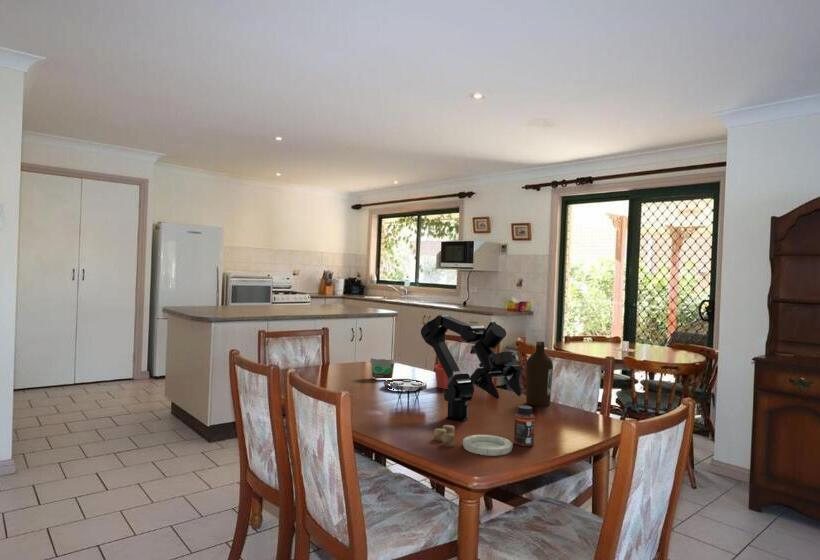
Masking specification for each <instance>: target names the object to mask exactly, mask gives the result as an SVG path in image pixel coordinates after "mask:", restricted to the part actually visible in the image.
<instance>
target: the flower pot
mask: <svg viewBox="0 0 820 560" xmlns="http://www.w3.org/2000/svg"><path fill="white" fill-rule="evenodd" d="M434 368H435V377H436V383H437V388H438V387H439V388H438V389H440V388H443V389H442V390H444V389H448V386H447V385H448V377H447V375H446V373H445V371H444V369H443V367H442V365H441V364H435V366H434ZM458 368H459V370H460V369H461V368H460V366H458Z"/></svg>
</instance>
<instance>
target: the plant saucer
mask: <svg viewBox="0 0 820 560" xmlns="http://www.w3.org/2000/svg"><path fill="white" fill-rule="evenodd" d="M403 380H412V381H416V382H421V383H423V385H424V384H425V383H424V382H422V381H421V380H419V379H411V378H410V379H409V378H396V379H395V378H392V380H387V381H382V382H383V385H384V387H385V388H386V389H387V388H389V389H392V387H391V386H389V385H388V384H390V382H393V381H403ZM393 390H394V389H393Z"/></svg>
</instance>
